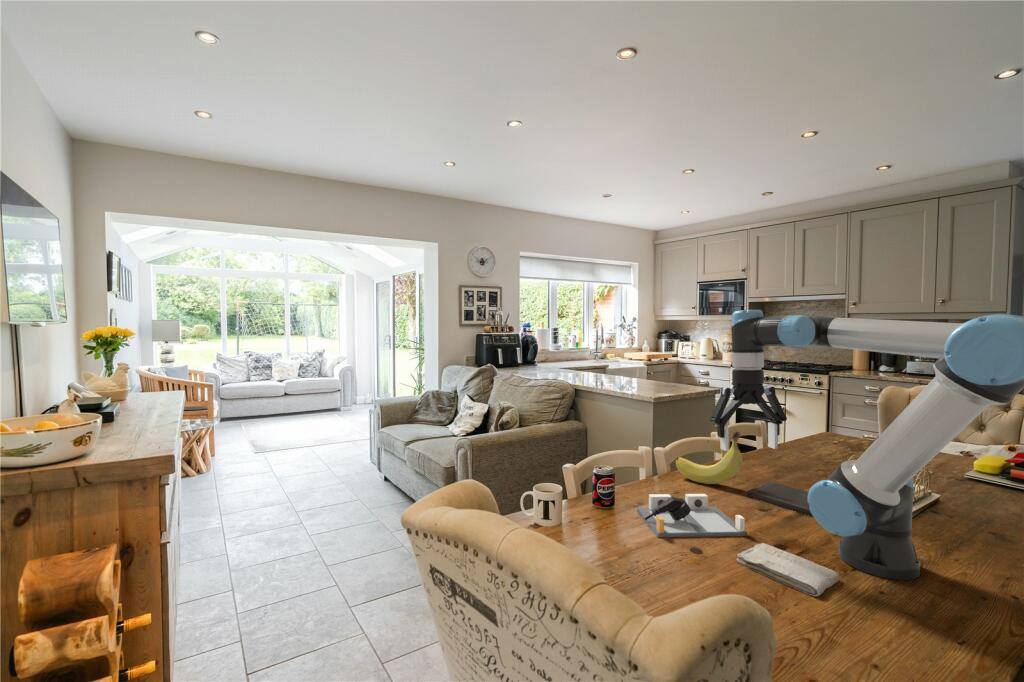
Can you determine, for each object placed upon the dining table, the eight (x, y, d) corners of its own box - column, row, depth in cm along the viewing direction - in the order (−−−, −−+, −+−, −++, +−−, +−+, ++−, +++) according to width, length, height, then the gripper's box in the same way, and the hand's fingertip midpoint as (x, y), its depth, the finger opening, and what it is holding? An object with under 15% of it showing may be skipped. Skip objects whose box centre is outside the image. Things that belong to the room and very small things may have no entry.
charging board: (747, 535, 125) (747, 517, 125) (657, 537, 124) (657, 518, 123) (716, 510, 142) (716, 493, 142) (637, 511, 141) (637, 494, 140)
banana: (671, 478, 171) (673, 423, 170) (678, 474, 175) (679, 420, 174) (738, 493, 155) (739, 433, 155) (743, 489, 160) (745, 430, 159)
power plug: (641, 512, 134) (677, 489, 133) (656, 534, 134) (693, 512, 133) (645, 521, 129) (682, 497, 127) (661, 544, 128) (699, 520, 127)
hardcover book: (772, 488, 163) (772, 481, 162) (849, 511, 143) (849, 503, 143) (746, 497, 154) (746, 490, 154) (824, 523, 135) (825, 515, 134)
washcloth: (758, 550, 118) (759, 538, 118) (841, 582, 104) (842, 569, 103) (733, 564, 111) (733, 551, 111) (818, 601, 97) (818, 586, 96)
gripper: (782, 366, 131) (783, 443, 131) (695, 368, 128) (696, 447, 128) (801, 368, 123) (802, 450, 123) (710, 370, 120) (711, 454, 120)
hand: (748, 449), depth 125 cm, fingers open, 13 cm apart
